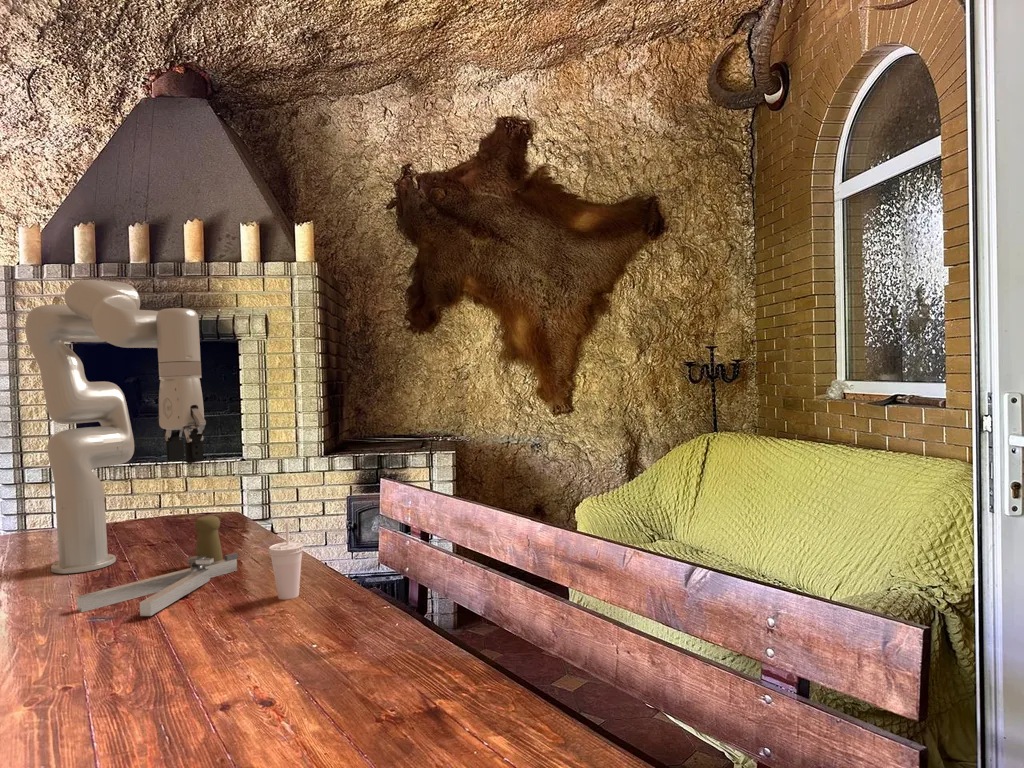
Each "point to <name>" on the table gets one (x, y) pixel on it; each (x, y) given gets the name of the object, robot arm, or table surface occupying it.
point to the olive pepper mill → (208, 538)
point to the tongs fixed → (151, 584)
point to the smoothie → (287, 566)
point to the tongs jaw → (177, 588)
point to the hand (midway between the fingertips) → (185, 460)
